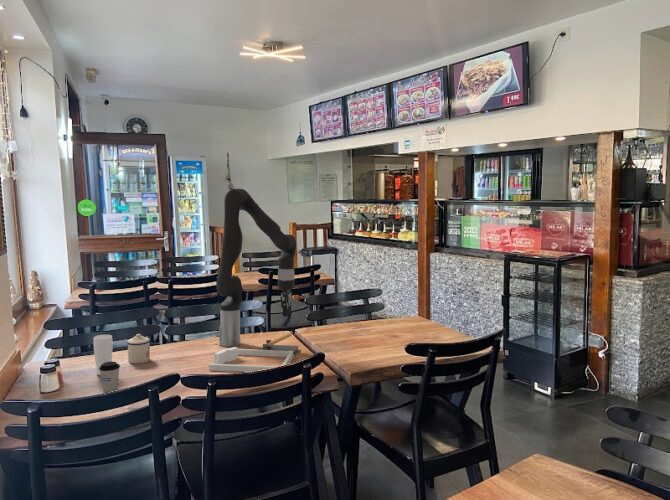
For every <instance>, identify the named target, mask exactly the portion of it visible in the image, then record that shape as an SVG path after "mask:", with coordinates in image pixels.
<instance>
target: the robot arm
mask: <svg viewBox="0 0 670 500" xmlns="http://www.w3.org/2000/svg"><path fill="white" fill-rule="evenodd" d="M223 199H224V201H223V202H224V203H223V204H224V206H223V207H224V210H223V211H224V220H223V233H222V242H221V253H220V254H221V255H220V264H219V269H218V275H217V279H216V291H217V294H218V296H221V297H226V298H225V299H224V301H222V302H221V303H220V305H219V306H220V307H219V308H220V309H219V311H220V317H219V318H220V325H219V326H218V336H219V337H218V339H219V341H218V343H219V346H223V347H236V346H239V345H240V344H241V304H242V298H243V297H242V296H243V284H242V283H243V282H242V280H241V279H240V277H239V276H237V275H232V273H233V272H232V271H233V268H234V265H235V264H236V262H237V260H238V259H239V257H240V255H241V253H242V249H243V239H244V238H243V237H244V236H243V232H242V229H241V225H240V211H241V209H242V210H243V211H244V212H246V213H247V214H248V215H250V217H251V219H253V221H254V224H256V226H257V227H258V229H260V231H261V232H263V233H264V234H265V235H266V236H267V237H268V238H269V239H270V240H271V242H272V244H273V245H274V246H275V247H276V248H277V249H279V250H280V251H281V255H280V256H279V257H278V266H277V267H278V271H277V288H278V289H279V290H281V291H282V292H281V293H280V306H281V307H280V308H281V309H282V317H285V318H286V317H288V315H290V306H291V302H292V291H291V290H293V289H295V255H296V250H297V240H296V238H295V236H294V235H292V234H290V233H289V234H285V233H284V232H283V231H282V230H281V226H280V225H279V224H278V223H277V222H276V221H275V220H274V219H273V218H271V217H270V216H269V215H268V214H267V213H266V212H265V211H264V210H263V209H262V208H261V207H260V206H259V204H258V203H257V202H256V201H255V200H254V199H253V197H252V196H251V195H250V194H249V192H248V191H247V190H246V189H243V188H230V189H228V190H227V191H226V193H225V195H224V198H223Z"/></svg>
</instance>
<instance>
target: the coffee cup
mask: <svg viewBox="0 0 670 500" xmlns="http://www.w3.org/2000/svg"><path fill="white" fill-rule="evenodd" d="M120 368H121V365H120V364H119V363H118V362H116V361H113V360H112V362H105V363H103V364H102V365H101V366H100V367H99V370H100V374H101V375H100V380H101V385H102V391H103V393H106V392H111V391H115V390H117V391H118V385H119V377H120V376H119V375H120ZM115 392H116V391H115ZM111 393H112V392H111ZM106 394H107V393H106Z"/></svg>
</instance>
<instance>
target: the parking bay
mask: <svg viewBox="0 0 670 500" xmlns="http://www.w3.org/2000/svg"><path fill="white" fill-rule="evenodd" d="M230 348H231V347H229V348H228V347H227V348H225V349H230ZM238 356H253V357H272V358H273V357H276V358H279V357H280V358H285V359H284V361H283V362H282V365H285V364H288V363H289V364H290V363H291V361H292V360H293V358H294V355H293V351H279V350H261V349H256V348H255V349H250V348H238ZM282 365H281V366H282ZM273 367H276V366H274V365H273V366H272V365H269V366H268V365H251V364H250V365H249V364H248V365H247V364H231V363H230V364H228V363H223V364H214V363H209V364H208V370H209V371H211V372H212V371H213V372H214V371H215V372H219V371H220V372H231V371H258V370H263V369H269V368H273Z"/></svg>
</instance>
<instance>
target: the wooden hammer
mask: <svg viewBox="0 0 670 500" xmlns="http://www.w3.org/2000/svg"><path fill="white" fill-rule="evenodd" d="M293 334H294V333H293V331H292V330H291V331H289V332H287V333H285V334H283V335H282V336H279V337H278V338H277V337H276V338H275V339H273V340H271V342H269V343H267V344H268V347H269V346H271V345H276V344H277V343H280V342H281V341H284V340H285V339H287V338H290V337H291V336H292V335H293Z"/></svg>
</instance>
